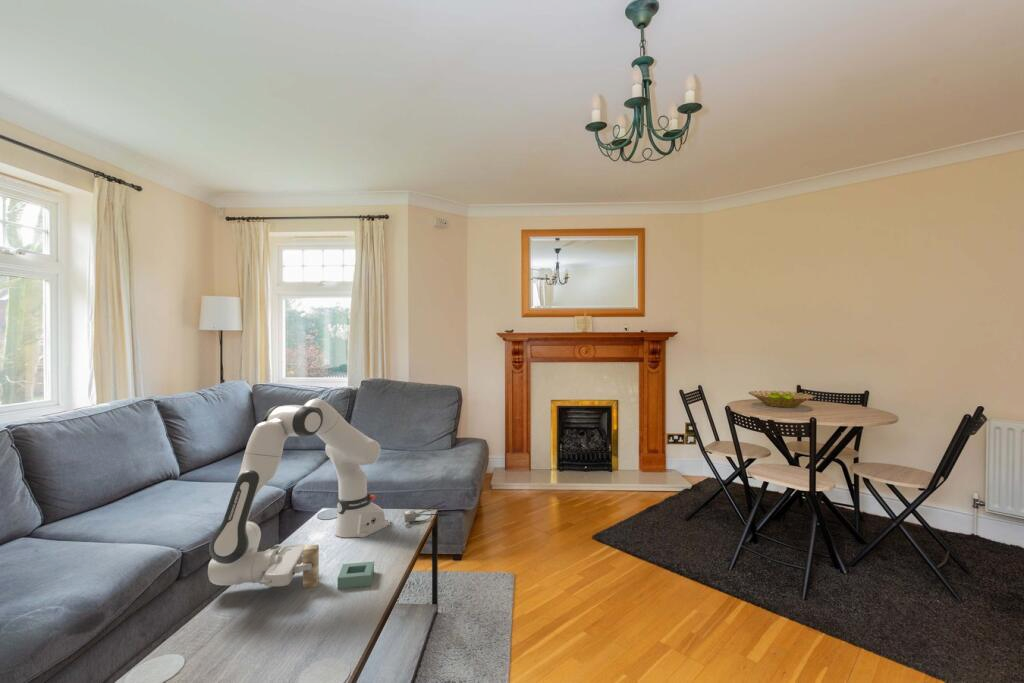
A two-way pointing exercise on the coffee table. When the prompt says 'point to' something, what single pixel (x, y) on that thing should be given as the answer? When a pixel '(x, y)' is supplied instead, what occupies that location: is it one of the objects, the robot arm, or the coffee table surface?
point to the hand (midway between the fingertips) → (313, 562)
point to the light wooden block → (312, 575)
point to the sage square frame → (356, 575)
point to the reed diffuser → (411, 515)
